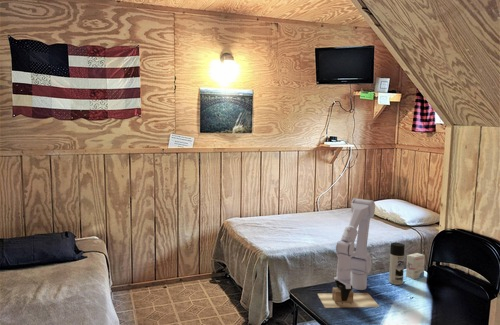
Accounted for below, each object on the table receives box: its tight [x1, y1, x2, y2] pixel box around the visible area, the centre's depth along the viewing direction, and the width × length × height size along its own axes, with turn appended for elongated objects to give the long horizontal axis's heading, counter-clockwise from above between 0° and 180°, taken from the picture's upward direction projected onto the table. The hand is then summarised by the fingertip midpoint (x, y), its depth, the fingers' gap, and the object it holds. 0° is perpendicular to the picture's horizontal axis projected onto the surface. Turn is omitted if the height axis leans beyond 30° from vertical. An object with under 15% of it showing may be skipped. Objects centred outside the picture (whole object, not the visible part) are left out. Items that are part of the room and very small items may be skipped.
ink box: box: [405, 252, 426, 280], centre depth 211 cm, size 9×5×12 cm, turn 119°
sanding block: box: [331, 286, 355, 303], centre depth 177 cm, size 4×8×5 cm, turn 94°
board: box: [317, 292, 381, 309], centre depth 178 cm, size 14×24×2 cm, turn 94°
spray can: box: [388, 241, 406, 286], centre depth 201 cm, size 7×7×20 cm
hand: (342, 297), depth 177 cm, fingers closed on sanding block, 4 cm apart
